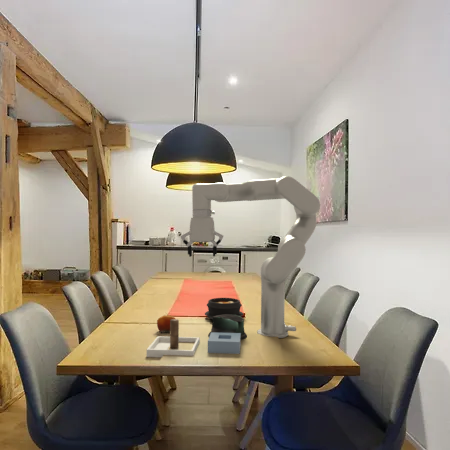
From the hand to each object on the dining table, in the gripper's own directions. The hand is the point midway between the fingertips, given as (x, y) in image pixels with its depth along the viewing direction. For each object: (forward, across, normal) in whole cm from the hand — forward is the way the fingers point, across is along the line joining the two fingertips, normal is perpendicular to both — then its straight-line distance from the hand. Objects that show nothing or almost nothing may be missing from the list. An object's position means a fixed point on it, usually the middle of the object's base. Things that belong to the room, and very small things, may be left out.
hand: (202, 256), depth 165 cm
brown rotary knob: (+33, -10, +5) cm, 35 cm away
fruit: (+32, +16, -4) cm, 36 cm away
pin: (+31, +9, +20) cm, 38 cm away
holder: (+32, -10, +20) cm, 39 cm away
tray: (+32, +9, +20) cm, 39 cm away
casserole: (+33, -7, -30) cm, 45 cm away
